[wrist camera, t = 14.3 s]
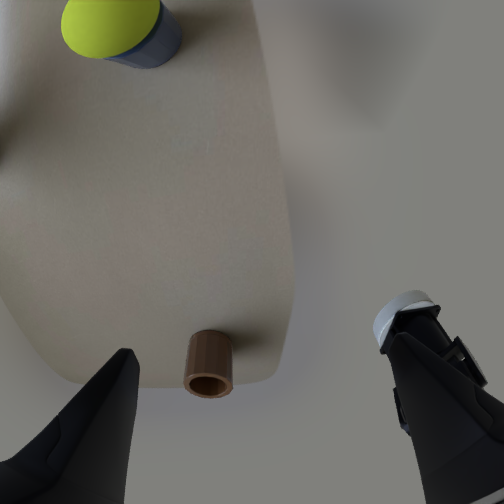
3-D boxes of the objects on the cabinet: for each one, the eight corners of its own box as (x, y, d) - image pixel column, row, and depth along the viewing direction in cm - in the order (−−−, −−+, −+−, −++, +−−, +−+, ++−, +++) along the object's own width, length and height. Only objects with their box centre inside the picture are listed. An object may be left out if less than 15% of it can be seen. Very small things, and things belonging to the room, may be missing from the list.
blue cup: (183, 9, 12) (165, -20, 7) (182, 64, 14) (162, 50, 10) (122, 21, 12) (89, 1, 7) (121, 75, 14) (85, 68, 9)
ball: (171, -17, 8) (148, -56, 4) (168, 54, 10) (139, 33, 6) (92, 3, 8) (49, -19, 4) (88, 72, 10) (38, 67, 6)
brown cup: (230, 329, 25) (230, 372, 20) (233, 357, 27) (233, 398, 23) (185, 329, 25) (179, 372, 20) (192, 358, 27) (188, 398, 22)
